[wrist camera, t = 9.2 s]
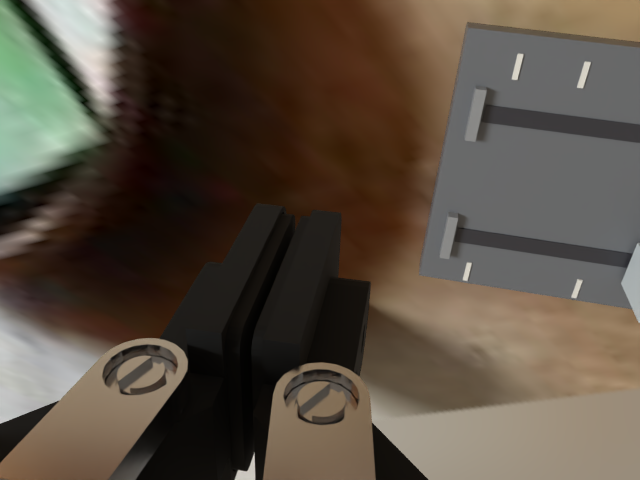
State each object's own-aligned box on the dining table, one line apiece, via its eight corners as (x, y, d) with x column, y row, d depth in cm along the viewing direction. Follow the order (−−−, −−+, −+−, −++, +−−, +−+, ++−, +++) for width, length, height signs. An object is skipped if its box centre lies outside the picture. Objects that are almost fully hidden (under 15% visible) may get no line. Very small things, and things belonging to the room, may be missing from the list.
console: (467, 22, 34) (468, 30, 32) (853, 67, 32) (879, 78, 30) (419, 263, 42) (418, 280, 40) (725, 311, 40) (738, 332, 38)
